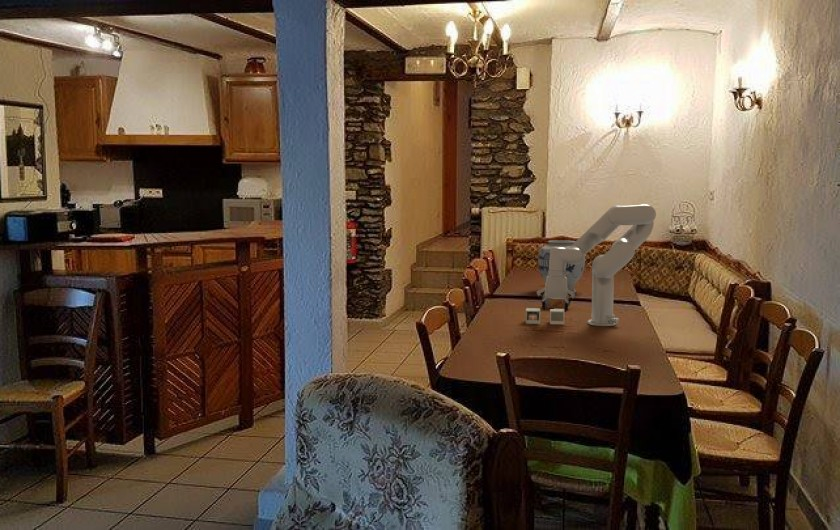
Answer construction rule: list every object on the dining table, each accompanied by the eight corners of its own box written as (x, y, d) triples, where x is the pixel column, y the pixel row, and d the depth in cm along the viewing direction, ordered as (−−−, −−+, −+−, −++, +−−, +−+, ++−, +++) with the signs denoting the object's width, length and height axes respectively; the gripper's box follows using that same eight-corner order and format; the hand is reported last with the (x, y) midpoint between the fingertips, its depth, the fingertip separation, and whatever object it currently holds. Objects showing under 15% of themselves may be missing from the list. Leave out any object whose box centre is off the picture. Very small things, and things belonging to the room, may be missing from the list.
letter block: (537, 321, 344) (537, 313, 343) (537, 323, 340) (537, 314, 339) (528, 321, 344) (528, 312, 344) (528, 323, 340) (528, 314, 340)
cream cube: (564, 321, 343) (564, 309, 342) (564, 324, 336) (564, 311, 336) (550, 321, 344) (550, 308, 343) (550, 324, 337) (550, 311, 337)
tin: (540, 307, 379) (541, 291, 378) (542, 306, 382) (543, 290, 381) (569, 310, 372) (569, 293, 371) (571, 309, 375) (571, 292, 374)
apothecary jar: (530, 289, 440) (530, 239, 436) (570, 287, 448) (570, 238, 444) (551, 296, 414) (552, 243, 411) (593, 293, 422) (594, 241, 419)
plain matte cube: (540, 321, 345) (540, 308, 344) (539, 323, 338) (540, 310, 338) (526, 320, 346) (526, 308, 345) (525, 323, 339) (525, 310, 339)
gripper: (576, 273, 340) (573, 310, 342) (538, 271, 343) (535, 307, 345) (576, 276, 332) (574, 313, 334) (537, 273, 335) (535, 310, 337)
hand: (554, 310), depth 340 cm, fingers open, 9 cm apart
